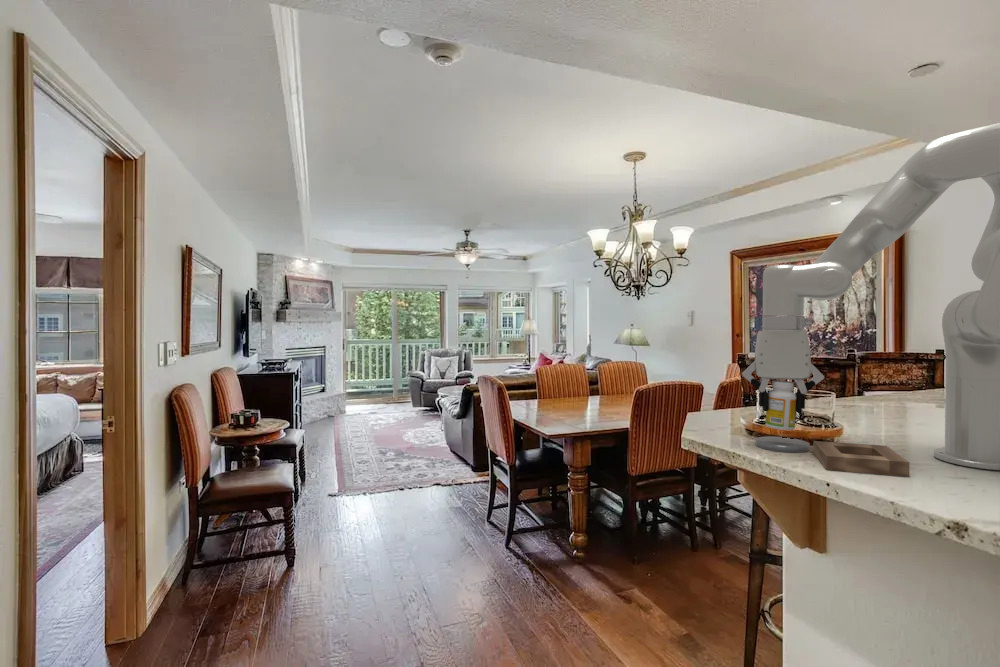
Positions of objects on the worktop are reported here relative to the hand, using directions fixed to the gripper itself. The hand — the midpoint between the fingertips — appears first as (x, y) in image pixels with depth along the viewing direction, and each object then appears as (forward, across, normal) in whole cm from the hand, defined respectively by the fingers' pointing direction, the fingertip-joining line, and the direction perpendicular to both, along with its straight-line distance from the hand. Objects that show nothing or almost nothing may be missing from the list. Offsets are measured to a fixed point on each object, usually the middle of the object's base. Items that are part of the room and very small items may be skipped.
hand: (781, 410), depth 108 cm
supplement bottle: (+4, 0, 0) cm, 4 cm away
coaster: (+8, 0, 0) cm, 8 cm away
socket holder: (+7, -11, +10) cm, 17 cm away
